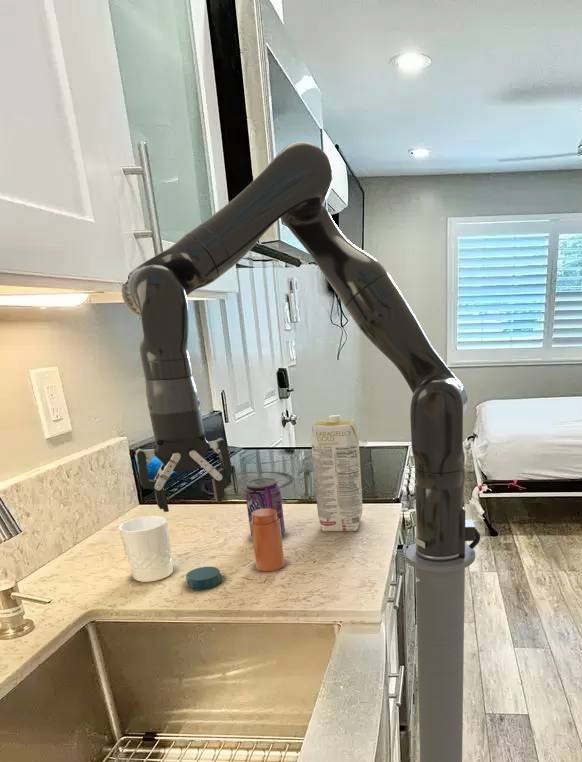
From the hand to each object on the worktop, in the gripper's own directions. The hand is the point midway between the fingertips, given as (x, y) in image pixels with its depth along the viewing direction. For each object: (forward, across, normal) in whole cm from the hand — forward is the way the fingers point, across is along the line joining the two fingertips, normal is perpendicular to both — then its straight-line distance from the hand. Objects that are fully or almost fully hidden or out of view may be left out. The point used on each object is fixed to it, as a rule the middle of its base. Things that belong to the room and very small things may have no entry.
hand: (192, 505), depth 95 cm
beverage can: (+15, -16, -16) cm, 27 cm away
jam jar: (+14, -12, -1) cm, 19 cm away
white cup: (+14, +8, -9) cm, 19 cm away
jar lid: (+13, 0, 0) cm, 13 cm away
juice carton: (+15, -32, -13) cm, 37 cm away
